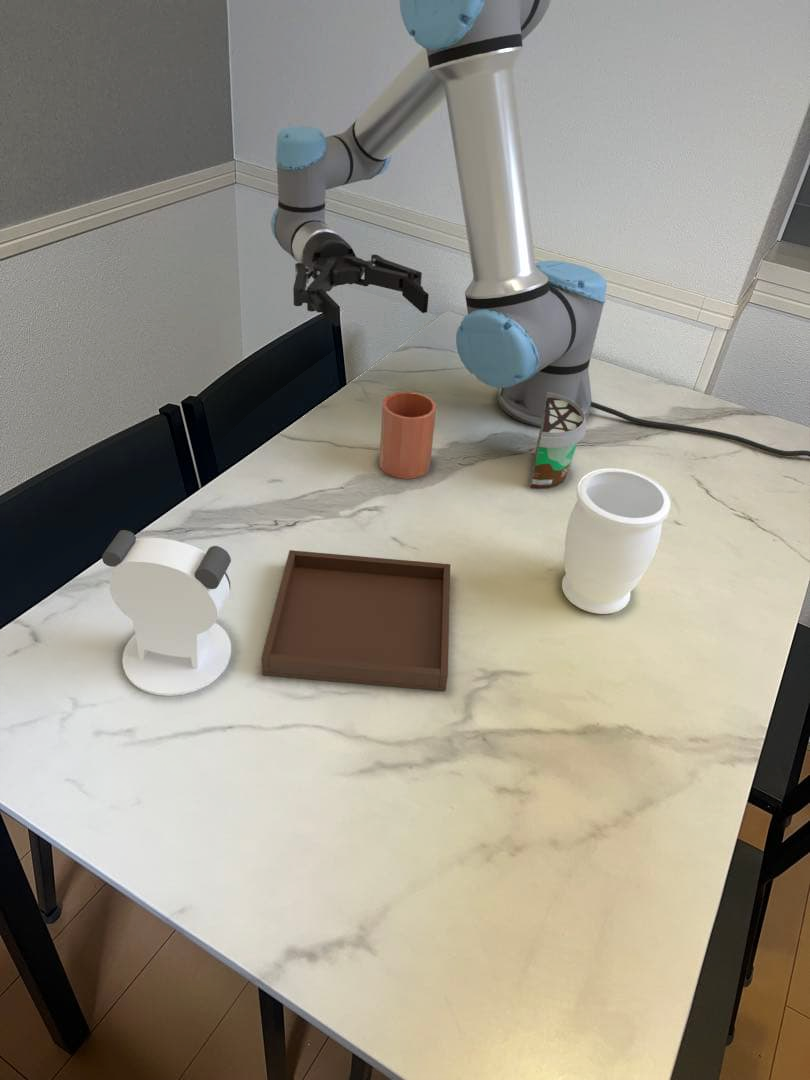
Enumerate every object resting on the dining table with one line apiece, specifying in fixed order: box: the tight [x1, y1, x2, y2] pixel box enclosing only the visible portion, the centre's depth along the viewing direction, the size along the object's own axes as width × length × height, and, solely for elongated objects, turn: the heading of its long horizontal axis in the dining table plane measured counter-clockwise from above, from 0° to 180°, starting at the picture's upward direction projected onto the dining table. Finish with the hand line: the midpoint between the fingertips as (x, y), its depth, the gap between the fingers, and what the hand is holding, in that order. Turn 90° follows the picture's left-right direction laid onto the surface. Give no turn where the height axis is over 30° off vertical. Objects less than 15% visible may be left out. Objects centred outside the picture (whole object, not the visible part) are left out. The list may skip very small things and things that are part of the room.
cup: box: [378, 391, 437, 480], centre depth 114 cm, size 7×7×10 cm
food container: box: [530, 392, 587, 490], centre depth 115 cm, size 12×6×10 cm, turn 168°
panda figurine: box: [101, 529, 232, 697], centre depth 82 cm, size 12×11×15 cm
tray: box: [260, 549, 451, 692], centre depth 91 cm, size 20×18×3 cm
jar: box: [561, 467, 672, 615], centre depth 94 cm, size 11×10×15 cm
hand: (382, 310), depth 111 cm, fingers open, 13 cm apart
